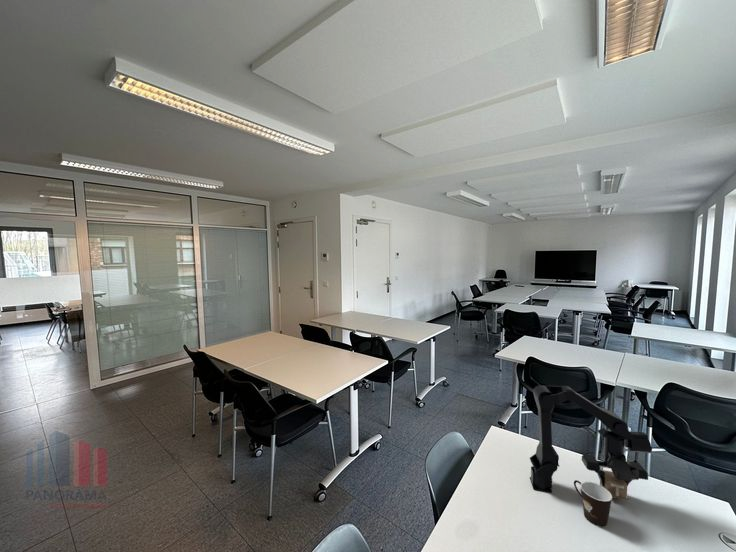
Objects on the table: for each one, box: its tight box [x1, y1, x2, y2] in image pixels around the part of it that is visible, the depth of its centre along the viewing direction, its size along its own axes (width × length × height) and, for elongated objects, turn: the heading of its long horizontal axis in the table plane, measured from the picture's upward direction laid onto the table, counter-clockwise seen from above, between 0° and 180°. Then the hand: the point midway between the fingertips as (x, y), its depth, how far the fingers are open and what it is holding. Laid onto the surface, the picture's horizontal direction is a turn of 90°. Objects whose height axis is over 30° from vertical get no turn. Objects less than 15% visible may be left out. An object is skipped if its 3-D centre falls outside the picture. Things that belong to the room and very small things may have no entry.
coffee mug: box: [573, 479, 613, 528], centre depth 102 cm, size 12×9×10 cm
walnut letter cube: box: [599, 469, 628, 501], centre depth 110 cm, size 6×6×6 cm
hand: (612, 487), depth 110 cm, fingers closed on walnut letter cube, 6 cm apart
